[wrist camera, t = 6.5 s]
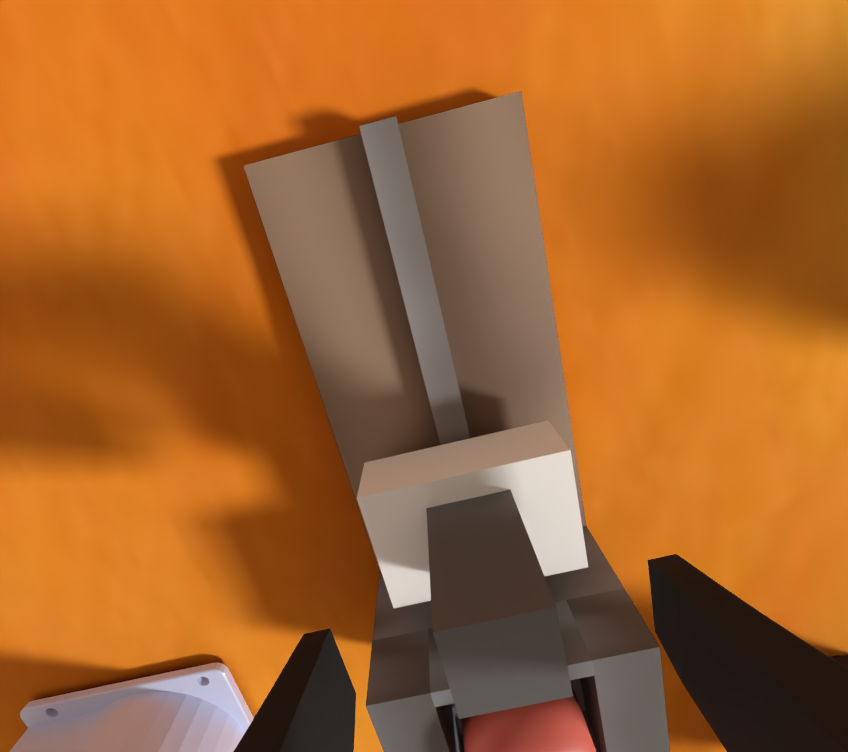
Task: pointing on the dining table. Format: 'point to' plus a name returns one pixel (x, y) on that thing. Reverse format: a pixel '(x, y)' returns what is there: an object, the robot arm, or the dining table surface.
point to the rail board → (445, 374)
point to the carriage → (482, 557)
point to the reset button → (530, 729)
